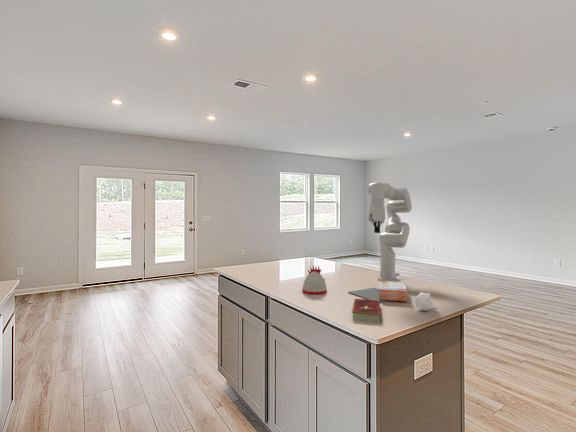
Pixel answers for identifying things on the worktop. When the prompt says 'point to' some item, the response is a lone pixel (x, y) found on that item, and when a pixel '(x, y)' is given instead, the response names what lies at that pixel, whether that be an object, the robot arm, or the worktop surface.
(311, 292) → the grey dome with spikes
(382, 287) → the cracker box
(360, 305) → the hardcover book
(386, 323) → the worktop surface
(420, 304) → the crumpled paper ball
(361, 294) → the mat
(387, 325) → the worktop surface
